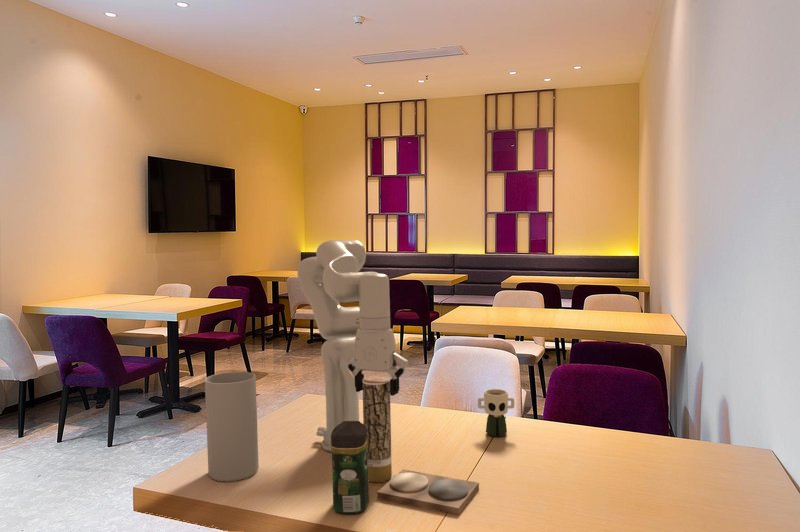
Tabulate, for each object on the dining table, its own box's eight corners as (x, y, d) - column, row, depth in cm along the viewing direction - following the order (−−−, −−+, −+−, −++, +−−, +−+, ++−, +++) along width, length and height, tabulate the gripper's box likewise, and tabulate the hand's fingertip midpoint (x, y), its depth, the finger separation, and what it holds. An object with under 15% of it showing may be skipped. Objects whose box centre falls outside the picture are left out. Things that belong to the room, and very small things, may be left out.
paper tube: (388, 484, 141) (386, 383, 139) (361, 482, 142) (359, 382, 141) (394, 473, 147) (392, 376, 146) (368, 471, 149) (366, 375, 147)
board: (376, 498, 133) (376, 488, 133) (403, 475, 146) (403, 466, 146) (458, 515, 125) (458, 504, 124) (479, 488, 137) (478, 479, 137)
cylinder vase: (268, 468, 152) (265, 374, 151) (234, 486, 141) (230, 385, 140) (233, 460, 158) (230, 370, 157) (197, 477, 147) (194, 380, 146)
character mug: (479, 438, 171) (478, 395, 170) (477, 430, 178) (476, 388, 178) (516, 438, 170) (515, 395, 170) (513, 430, 178) (512, 388, 177)
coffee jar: (337, 495, 135) (335, 417, 134) (370, 496, 135) (369, 417, 134) (329, 515, 125) (327, 431, 124) (365, 516, 125) (363, 431, 124)
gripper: (337, 324, 143) (339, 393, 144) (399, 327, 135) (401, 399, 136) (352, 320, 150) (354, 386, 150) (413, 323, 142) (414, 391, 143)
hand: (376, 392), depth 143 cm, fingers open, 9 cm apart
